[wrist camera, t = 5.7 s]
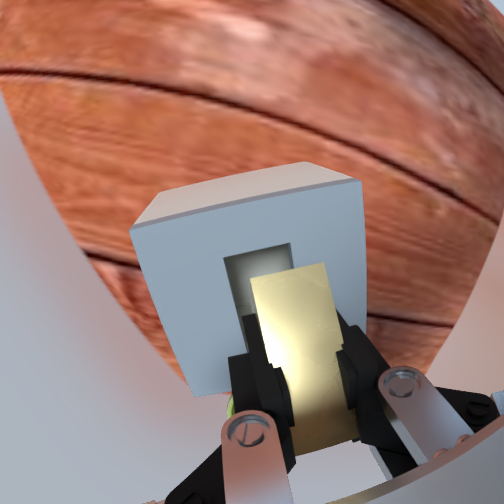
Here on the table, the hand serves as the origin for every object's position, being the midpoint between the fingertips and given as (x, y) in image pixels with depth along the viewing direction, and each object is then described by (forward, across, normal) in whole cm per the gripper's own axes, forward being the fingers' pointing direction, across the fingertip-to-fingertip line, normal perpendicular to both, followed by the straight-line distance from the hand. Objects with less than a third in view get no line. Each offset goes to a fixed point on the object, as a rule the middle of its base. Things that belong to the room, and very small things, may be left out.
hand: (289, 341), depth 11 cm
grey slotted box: (+16, 0, +2) cm, 16 cm away
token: (+1, 0, +2) cm, 2 cm away
